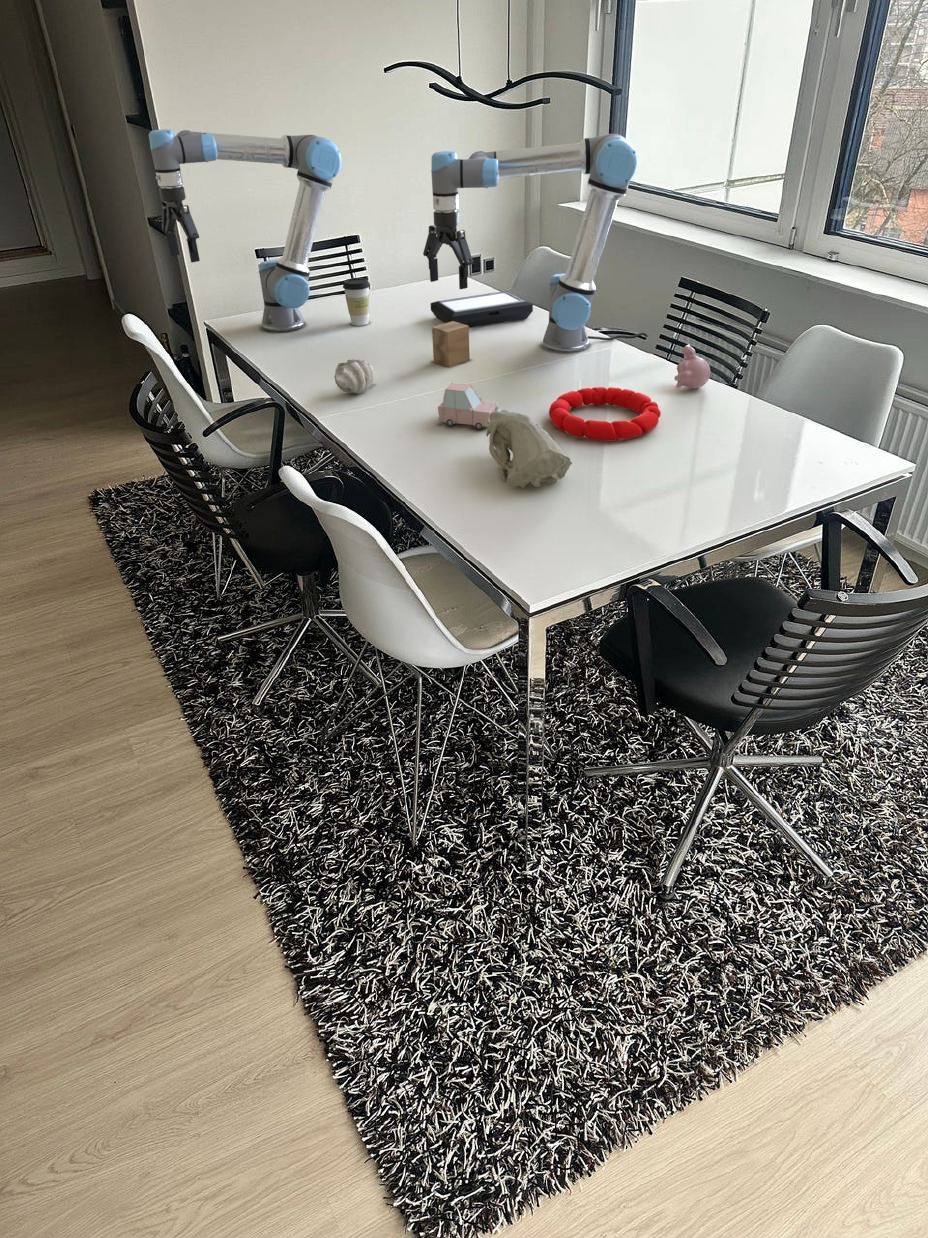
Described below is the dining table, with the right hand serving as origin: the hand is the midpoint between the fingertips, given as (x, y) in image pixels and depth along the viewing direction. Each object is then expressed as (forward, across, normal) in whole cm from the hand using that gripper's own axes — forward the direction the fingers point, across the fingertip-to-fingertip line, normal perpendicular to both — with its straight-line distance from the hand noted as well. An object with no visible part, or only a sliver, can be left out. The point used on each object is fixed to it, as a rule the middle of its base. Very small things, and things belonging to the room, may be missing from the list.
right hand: (448, 284), depth 276 cm
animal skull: (+24, +74, -44) cm, 89 cm away
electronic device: (+24, -27, +39) cm, 53 cm away
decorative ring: (+24, +69, -6) cm, 73 cm away
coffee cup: (+24, -56, +5) cm, 61 cm away
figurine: (+24, +71, +31) cm, 81 cm away
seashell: (+24, +1, -39) cm, 46 cm away
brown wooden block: (+24, 0, 0) cm, 24 cm away
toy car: (+24, +43, -32) cm, 59 cm away
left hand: (-6, -71, -51) cm, 88 cm away
